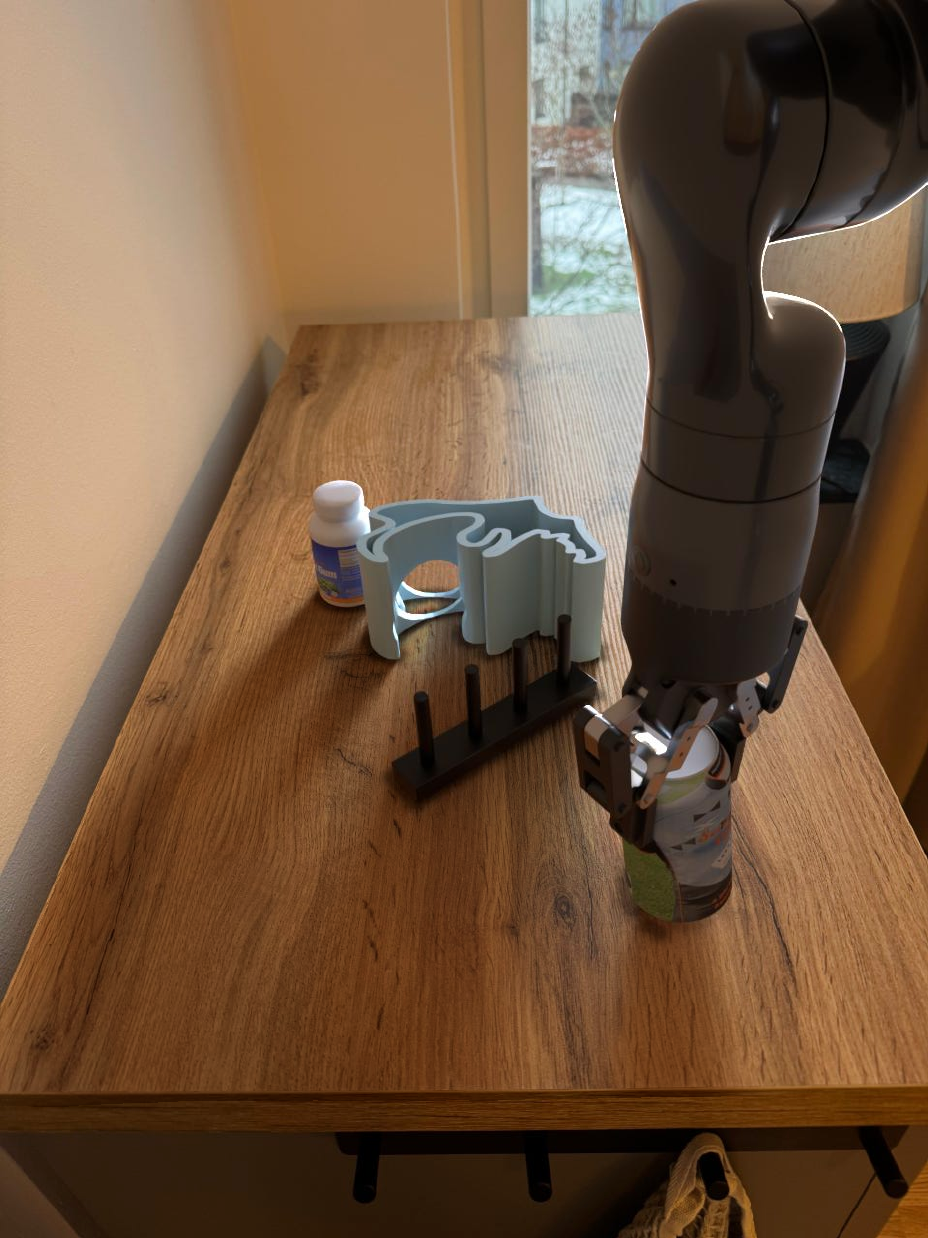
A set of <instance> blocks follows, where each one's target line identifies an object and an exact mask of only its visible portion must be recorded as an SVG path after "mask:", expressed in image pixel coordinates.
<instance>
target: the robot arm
mask: <svg viewBox="0 0 928 1238" xmlns="http://www.w3.org/2000/svg"><path fill="white" fill-rule="evenodd" d="M612 124H613V126H612V142H611V143H612V146H611V147H612V164H613V172H614V178H615V185H616V191H617V197H618V200H619V206H620V211H621V216H622V219H623V224H624V228H625V229H624V230H625V234H626V238H627V241H628V247H629V251H630V256H631V262H632V267H633V273H634V279H635V283H636V284H635V285H636V292H637V298H638V305H639V310H640V316H641V321H642V327H643V333H644V339H645V347H646V354H647V355H646V356H647V377H646V384H645V385H646V386H645V396H644V397H645V398H644V410H643V420H642V434H641V444H640V453H639V461H638V466H637V469H636V474H635V479H634V482H633V486H632V490H631V496H630V504H629V512H628V523H627V524H628V525H627V535H626V536H627V537H626V550H625V559H624V560H625V561H624V570H623V571H624V573H623V583H622V584H623V586H622V597H621V610H620V629H621V633H622V636H623V639H624V642H625V645H626V647H627V650H628V653H629V656H630V660H631V665H630V668H629V672H628V674H627V676H626V679H625V681H624V683H623V686H622V689H621V698H620V699H619V700H618V701H616V702H614V703H612V705H611V706H609V707H608V708H607V709H605V710H604V711H603V712H601V713H600V712H599V711H598V710H597V709H595V708H594V707H593V706H591V705H588V704H587V705H585V706H582V707H581V708H579V710H578V711H577V712H576V713H575V714H574V716H573V719H572V730H573V739H574V748H575V756H576V766H577V767H576V768H577V775H578V783H579V788H580V789H581V790H582V791H583V792H585V793H586V794H587V795H588V796H589V797H590V798H591V799H592V800H593V801H595V803H597V804H598V805H599V806H600V807H602V809H604V810H605V811H606V812H607V813H608V814H609V818H608V819H609V820H608V825H609V827H610V829H612V830H613V831H614V832H615V833H616V834H617V835H618V836H619V837H621V839H622V838H623V839H624V840H625V841H626V842H627V843H628V844H630V845H631V844H633V845H634V846H636V847H637V848H639V849H641V848H643V847H644V846H645V845H647V844H648V843H650V842H651V841H652V836H653V829H654V822H655V814H656V807H657V800H658V799H657V798H656V797H657V795H658V793H659V791H660V789H661V787H662V785H663V783H664V780H665V778H666V776H667V774H668V772H672V771H676V770H679V769H680V768H681V767H682V766H683V763H684V761H685V759H686V757H687V755H688V753H689V751H690V749H691V747H692V745H693V743H694V741H695V739H696V737H697V735H698V733H699V731H700V730H701V729H702V728H703V727H704V726H705V725H707V726H708V727H710V728H711V729H712V731H713V732H714V733H715V735H716V737H717V739H718V741H719V742H720V743H721V744H722V745H723V747H724V748H725V750H726V752H727V754H728V756H729V760H730V766H731V785H732V784H733V783H735V782H736V781H738V778H739V773H740V769H741V765H742V764H741V763H742V761H743V756H744V753H745V748H746V742H747V740H748V739H747V738H749V737H751V736H752V735H753V734H754V733H755V732H756V731H757V729H758V727H759V725H760V718H759V715H760V714H761V713H763V712H765V713H767V714H769V715H772V714H774V713H775V712H777V710H779V708H780V707H781V706H782V703H783V702H784V698H785V696H786V693H787V691H788V686H789V683H790V680H791V677H792V675H793V672H794V668H795V665H796V663H797V660H798V657H799V654H800V651H801V648H802V645H803V642H804V639H805V636H806V633H807V631H808V628H809V621H808V620H806V619H805V618H803V617H801V616H800V615H798V614H796V613H797V610H798V606H799V601H800V597H801V593H802V589H803V584H804V580H805V576H806V571H807V568H808V563H809V558H810V555H811V550H812V546H813V542H814V538H815V533H816V528H817V523H818V517H819V506H820V490H821V479H822V473H823V468H824V463H825V461H826V460H825V459H826V456H827V451H828V447H829V446H828V445H829V441H830V438H831V434H832V429H833V425H834V420H835V416H836V411H837V408H838V403H839V398H840V394H841V391H842V386H843V380H844V375H845V367H846V338H845V336H844V333H843V331H842V328H841V326H840V325H841V324H839V322H838V321H837V320H836V318H835V317H834V316H833V315H832V314H831V313H830V312H829V311H827V310H826V309H824V308H823V307H821V306H819V305H818V304H816V303H814V302H812V301H809V300H806V299H804V298H800V297H797V296H793V295H788V294H784V293H778V292H773V291H764V286H763V277H762V275H763V273H762V270H763V268H762V267H763V263H764V256H765V254H766V253H765V252H766V249H767V246H768V245H772V244H778V243H781V242H787V241H792V240H797V239H801V238H806V237H811V236H816V235H820V234H826V233H831V232H835V231H841V230H846V229H851V228H854V227H858V226H862V225H864V224H866V223H870V222H871V221H874V220H877V219H879V218H881V217H883V216H884V215H886V214H888V213H890V212H891V211H893V210H894V209H896V208H898V207H899V206H901V205H902V204H904V203H905V202H906V201H908V200H909V199H910V198H912V197H913V196H915V195H916V194H917V193H918V192H920V190H922V189H923V188H925V186H927V185H928V0H694V1H691V2H688V3H686V4H683V5H680V6H678V7H677V8H676V9H674V10H672V11H671V12H670V13H669V14H667V15H666V16H665V17H663V18H661V19H660V20H659V22H657V24H656V25H655V26H654V27H653V29H651V31H650V32H649V33H648V35H646V37H645V38H644V40H643V42H641V44H640V46H639V47H638V49H637V52H636V54H635V55H634V57H633V59H632V60H631V63H630V65H629V68H628V70H627V72H626V75H625V77H624V79H623V81H622V85H621V88H620V92H619V96H618V99H617V103H616V107H615V111H614V119H613V123H612ZM765 673H767V675H768V677H769V680H768V683H767V684H765V683H764V682H763V681H761V680H759V679H758V677H760V676H762V675H764V674H765ZM644 722H645V723H646V724H647V725H648V726H649V727H651V728H652V729H653V730H655V731H656V732H657V733H658V734H660V735H661V736H662V737H664V738H665V739H668V740H671V741H670V743H669V745H668V747H665V746H664V745H663V744H662V743H660V742H659V741H658V740H656V739H655V738H654V737H653V736H651V735H650V734H649V733H647V731H646V730H645V728H644ZM636 756H638V757H640V758H641V759H642V760H643V761H645V763H646V764H647V771H646V773H645V775H644V777H643V778H642V777H641V776H640V775H638V774H637V773H636V772H635V771H634V770H632V769H631V766H632V764H633V762H634V760H635V758H636Z"/></svg>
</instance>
